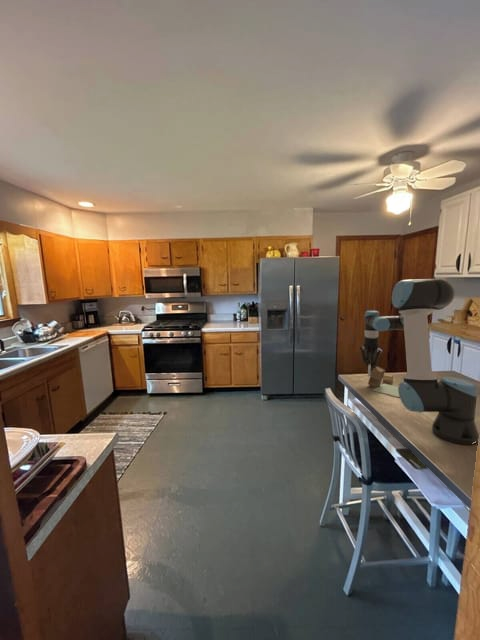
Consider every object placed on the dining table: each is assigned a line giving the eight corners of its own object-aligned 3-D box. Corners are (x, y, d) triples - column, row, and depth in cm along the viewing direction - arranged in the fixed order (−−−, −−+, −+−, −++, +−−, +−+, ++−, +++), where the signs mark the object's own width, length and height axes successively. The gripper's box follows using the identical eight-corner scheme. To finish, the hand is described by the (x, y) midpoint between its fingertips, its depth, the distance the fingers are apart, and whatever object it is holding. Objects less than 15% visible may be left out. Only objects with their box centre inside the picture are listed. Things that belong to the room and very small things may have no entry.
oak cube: (391, 384, 170) (392, 376, 170) (382, 383, 173) (382, 375, 173) (393, 381, 174) (393, 374, 174) (384, 380, 177) (384, 372, 177)
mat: (398, 397, 151) (398, 396, 151) (372, 390, 162) (372, 389, 162) (409, 390, 160) (409, 389, 160) (384, 384, 171) (384, 383, 171)
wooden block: (375, 388, 165) (381, 372, 162) (367, 384, 169) (373, 368, 165) (379, 386, 168) (385, 370, 165) (371, 381, 172) (377, 366, 168)
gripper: (385, 337, 164) (384, 376, 167) (363, 334, 174) (362, 371, 177) (379, 339, 159) (378, 379, 162) (357, 336, 169) (356, 374, 172)
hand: (370, 375), depth 169 cm, fingers closed
